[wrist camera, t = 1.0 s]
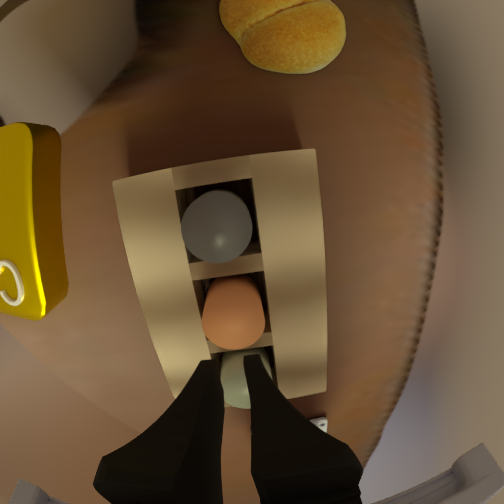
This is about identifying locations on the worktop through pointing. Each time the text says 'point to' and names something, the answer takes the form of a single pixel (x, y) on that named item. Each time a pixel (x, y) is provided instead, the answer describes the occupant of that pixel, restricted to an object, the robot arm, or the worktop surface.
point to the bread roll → (285, 32)
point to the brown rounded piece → (233, 312)
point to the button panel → (233, 264)
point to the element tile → (30, 221)
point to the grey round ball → (217, 226)
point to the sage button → (239, 376)
